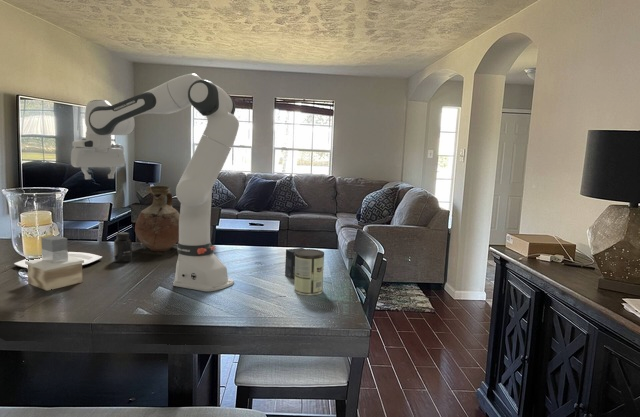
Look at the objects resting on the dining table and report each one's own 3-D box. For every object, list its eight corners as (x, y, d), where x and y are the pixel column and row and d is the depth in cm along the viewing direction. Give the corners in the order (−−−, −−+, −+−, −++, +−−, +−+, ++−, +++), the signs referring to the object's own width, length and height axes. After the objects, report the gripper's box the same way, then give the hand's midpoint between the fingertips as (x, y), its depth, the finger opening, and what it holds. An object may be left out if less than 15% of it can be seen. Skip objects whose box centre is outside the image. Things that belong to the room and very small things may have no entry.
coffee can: (299, 285, 161) (300, 247, 159) (326, 288, 158) (327, 250, 156) (289, 293, 151) (290, 253, 149) (317, 297, 148) (319, 256, 146)
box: (291, 278, 168) (292, 252, 167) (284, 275, 173) (285, 249, 171) (309, 276, 172) (309, 250, 171) (301, 272, 177) (302, 247, 176)
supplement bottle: (127, 263, 180) (127, 235, 179) (111, 262, 181) (110, 234, 179) (134, 259, 187) (134, 232, 186) (119, 258, 187) (118, 231, 186)
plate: (112, 260, 186) (111, 255, 186) (59, 277, 160) (58, 272, 160) (61, 254, 193) (60, 249, 193) (2, 269, 167) (2, 264, 167)
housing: (57, 257, 155) (56, 235, 154) (68, 260, 151) (67, 238, 150) (42, 260, 151) (41, 237, 150) (53, 263, 147) (52, 240, 146)
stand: (84, 282, 154) (84, 260, 153) (45, 291, 143) (44, 267, 142) (64, 275, 161) (63, 254, 160) (26, 283, 150) (24, 261, 149)
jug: (126, 253, 197) (125, 187, 194) (147, 243, 219) (146, 183, 215) (174, 255, 197) (173, 189, 193) (189, 245, 218) (189, 185, 214)
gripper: (118, 143, 179) (119, 177, 181) (67, 141, 162) (69, 179, 163) (128, 144, 176) (128, 178, 177) (77, 142, 158) (78, 180, 160)
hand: (99, 178), depth 170 cm, fingers open, 8 cm apart
